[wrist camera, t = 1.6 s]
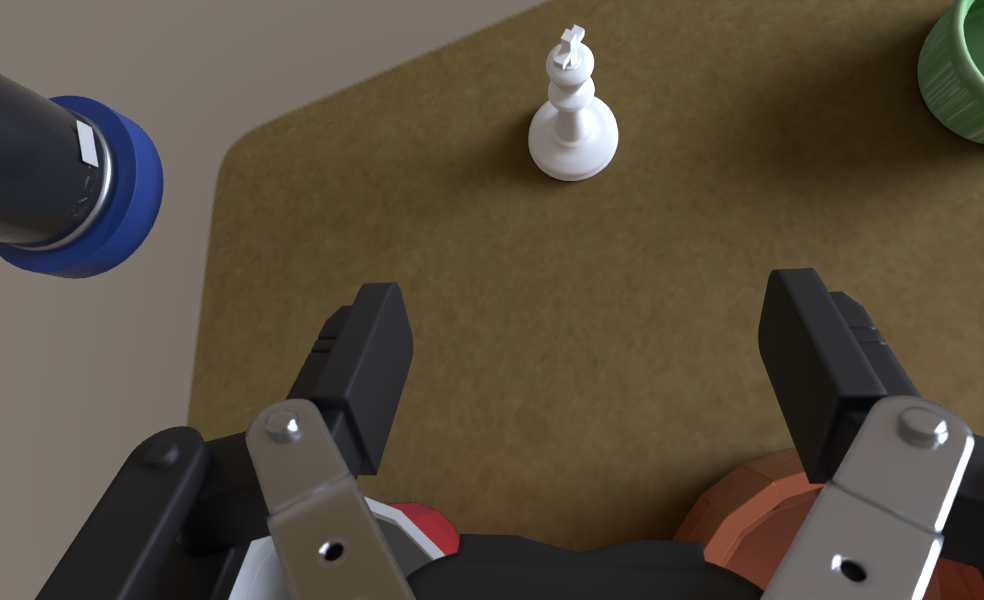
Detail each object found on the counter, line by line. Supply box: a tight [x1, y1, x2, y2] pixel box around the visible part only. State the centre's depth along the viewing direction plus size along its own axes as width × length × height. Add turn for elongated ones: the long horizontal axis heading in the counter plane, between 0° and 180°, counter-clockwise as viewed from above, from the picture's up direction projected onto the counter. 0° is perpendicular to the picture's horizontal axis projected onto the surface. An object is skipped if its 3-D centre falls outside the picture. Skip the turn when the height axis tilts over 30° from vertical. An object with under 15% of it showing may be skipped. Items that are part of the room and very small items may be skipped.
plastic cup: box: [229, 497, 459, 600], centre depth 25 cm, size 11×11×12 cm
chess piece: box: [528, 25, 618, 181], centre depth 28 cm, size 5×5×10 cm
